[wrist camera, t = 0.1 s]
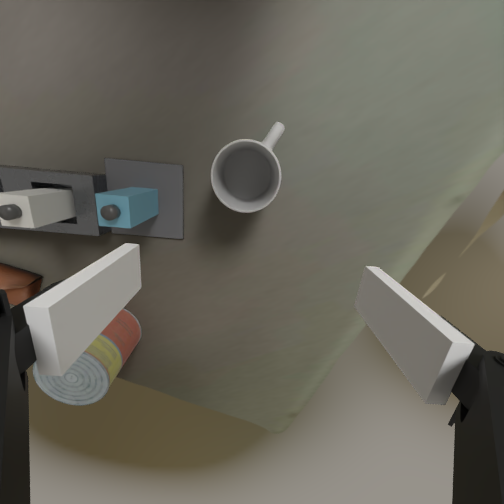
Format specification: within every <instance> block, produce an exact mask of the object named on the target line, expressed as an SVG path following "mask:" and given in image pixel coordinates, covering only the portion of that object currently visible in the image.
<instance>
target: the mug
mask: <svg viewBox="0 0 504 504" xmlns="http://www.w3.org/2000/svg"><path fill="white" fill-rule="evenodd" d="M284 130H285V127H284V125H283V124H282V123H280V122H276V123H275V124H274V125H273V127H272V128H271V130H270V131H269V133H268V134H267V136H266V137H265V139H264V140H263V141H262V142H259V141H255V140H251V139H240V140H236V141H233V142H231V143H229V144H227V145H226V146H225V147H223V148H222V149H221V150H220V151H219V153H218V154H217V155H216V157H215V159H214V161H213V164H212V168H211V184H212V187H213V190H214V193H215V194H216V196H217V198H218V199H219V200H220V201H221V202H222V203H223V204H224V205H225V206H226V207H228V208H230V209H231V210H234V211H237V212H241V213H252V212H256V211H259V210H261V209H263V208H265V207H266V206H267V205H269V204H270V203H271V202H272V201H273V199H274V198H275V196H276V195H277V193H278V191H279V188H280V184H281V168H280V165H279V162H278V160H277V157H276V156H275V154H274V153H273V152H272V150H273V148H274V146H275V144H276V143H277V141H278V140H279V138H280V137H281V135H282V134H283V132H284Z"/></svg>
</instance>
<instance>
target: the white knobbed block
mask: <svg viewBox="0 0 504 504" xmlns="http://www.w3.org/2000/svg"><path fill="white" fill-rule="evenodd" d="M72 217H76V211H75V204H74V197H73V190H72V188H65V187H48V188H39V189H29V190H20V191H10V192H1V193H0V220H1V224H2V226H12V227H24V228H38V227H41V226H44V225H48V224H51V223H55V222H58V221H62V220H65V219H69V218H72Z"/></svg>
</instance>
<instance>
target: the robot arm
mask: <svg viewBox="0 0 504 504" xmlns="http://www.w3.org/2000/svg"><path fill="white" fill-rule="evenodd" d="M140 289H141V269H140V249H139V244H130V243H125V244H123V245H122V246H120V247H118V248H117V249H115V250H113V251H112V252H110V253H109V254H107V255H105V256H104V257H102V258H100V259H99V260H97V261H96V262H94V263H92V264H91V265H89V266H87V267H86V268H84V269H83V270H81V271H79V272H78V273H76V274H74V275H73V276H71V277H69V278H68V279H64V280H62V281H59V282H56V283H53V284H51V285H50V286H48V287H46V288H45V289H43V291H40V292H38V293H36V294H35V295H34V296H31V297H30V298H28V299H26V300H24V301H23V302H21V303H19V304H18V305H16V306H14V307H13V308H11V309H10V305H9V301H8V297H7V293H6V292H5V290H3V289H0V504H30V466H29V465H30V462H29V405H28V376H27V372H26V370H27V369H28V368H29V367H30V366H31V365H32V364H33V363H34V362H35V361H36V364H37V368H38V372H39V375H50V376H62V375H63V374H64V373H65V372H66V371H67V370H68V369H69V368H70V366H71V365H72V364H73V363H74V362H75V361H76V360H77V359H78V358H79V356H80V355H81V354H82V353H83V352H84V351H85V350H86V349H87V348H88V346H89V345H90V344H91V343H92V342H93V341H94V340H95V339H96V338H97V336H98V335H99V334H100V333H101V332H102V331H103V330H104V329H105V328H106V326H107V325H108V324H109V323H110V322H111V321H112V320H113V319H114V318H115V316H116V315H117V314H118V313H119V312H120V311H121V310H122V309H123V308H124V307H125V305H126V304H127V303H128V302H129V301H130V300H131V299H132V298H133V297H134V295H135V294H136V293H137V292H138V291H139V290H140ZM354 307H355V308H356V310H357V311H358V313H359V314H360V315H361V317H362V318H363V319H364V321H365V322H366V323H367V325H368V326H369V327H370V329H371V330H372V331H373V333H374V334H375V336H376V337H377V338H378V340H379V341H380V342H381V344H382V345H383V347H384V348H385V349H386V351H387V352H388V353H389V355H390V356H391V357H392V359H393V360H394V361H395V363H396V364H397V366H398V367H399V368H400V370H401V371H402V372H403V374H404V375H405V377H406V378H407V379H408V381H409V382H410V383H411V385H412V386H413V387H414V389H415V390H416V392H417V393H418V394H419V396H420V397H421V398H422V400H423V401H424V402H425V403H426V404H440V405H445V404H446V402H447V400H448V398H449V396H450V394H451V392H452V393H453V394H454V395H455V396H456V397H457V398H458V399H459V400H460V402H459V404H458V406H457V408H456V410H455V412H454V414H453V416H452V417H451V419H450V421H449V423H448V425H450V426H452V425H453V424H454V423H455V444H454V445H455V447H454V472H453V473H454V474H453V501H452V504H504V354H503V353H500V352H496V351H486V350H484V349H483V348H482V347H480V346H479V345H478V344H477V343H475V342H474V341H473V340H471V339H470V338H469V337H468V336H466V335H465V334H464V333H463V332H460V330H459V329H457V328H456V327H455V326H452V324H451V323H450V322H449V321H447V320H446V319H445V318H444V317H442V316H440V315H438V314H436V313H435V312H434V311H433V310H431V309H430V308H429V307H427V306H426V305H425V304H424V303H423V302H421V301H420V300H419V299H417V298H416V297H415V296H414V295H412V294H411V293H410V292H409V291H407V290H406V289H405V288H404V287H402V286H401V285H400V284H399V283H397V282H396V281H395V280H394V279H392V278H391V277H390V276H389V275H387V274H386V273H385V272H384V271H382V270H381V269H380V268H379V267H372V266H365V269H364V272H363V276H362V280H361V283H360V287H359V291H358V294H357V298H356V301H355V305H354Z"/></svg>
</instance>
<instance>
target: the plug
mask: <svg viewBox="0 0 504 504" xmlns="http://www.w3.org/2000/svg"><path fill="white" fill-rule="evenodd" d="M95 198H96V206H97V215H98V223H99V226H107V227H119V228H133V227H134V226H136V225H138V224H140V223H142V222H144V221H146V220H148V219H150V218H152V217H154V216H156V215H158V214H159V213H158V189H149V188H138V187H130V188H124V189H118V190H113V191H107V192H102V193H96V194H95Z"/></svg>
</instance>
